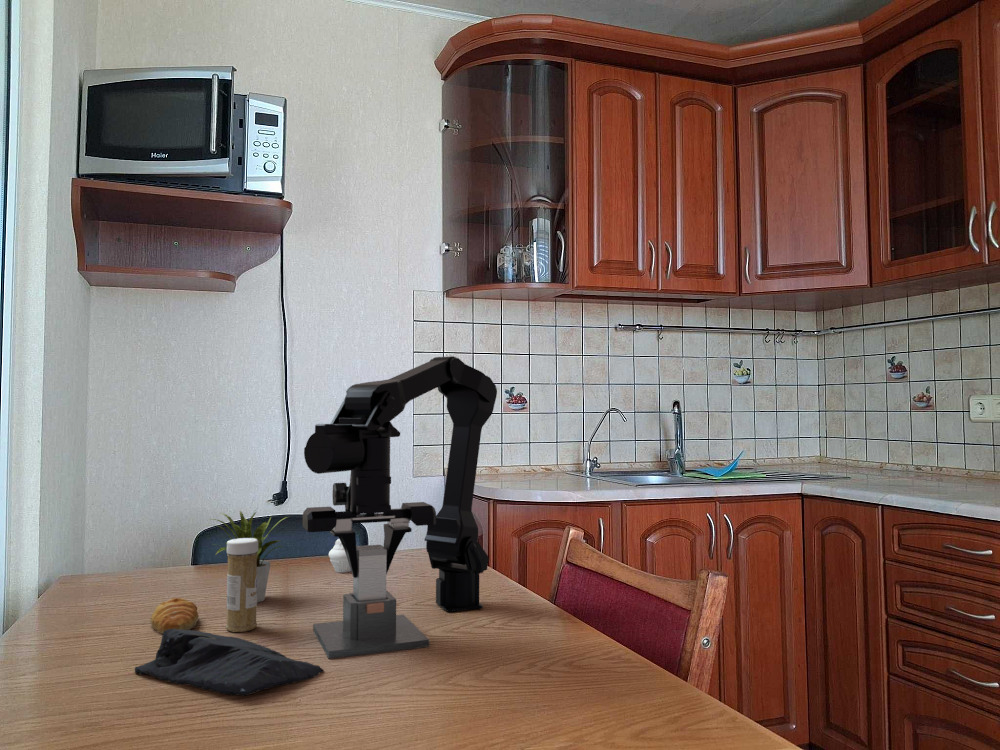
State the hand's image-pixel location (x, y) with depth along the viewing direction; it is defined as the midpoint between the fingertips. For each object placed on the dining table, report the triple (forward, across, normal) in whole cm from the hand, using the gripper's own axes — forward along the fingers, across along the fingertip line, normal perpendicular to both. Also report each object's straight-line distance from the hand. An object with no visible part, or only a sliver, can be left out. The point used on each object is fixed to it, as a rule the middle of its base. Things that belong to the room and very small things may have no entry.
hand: (369, 575), depth 111 cm
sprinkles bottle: (+9, +17, -12) cm, 23 cm away
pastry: (+10, +26, -17) cm, 33 cm away
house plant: (+9, +16, -30) cm, 35 cm away
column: (+6, 0, 0) cm, 6 cm away
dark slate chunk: (+10, +20, +7) cm, 23 cm away
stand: (+9, 0, 0) cm, 9 cm away
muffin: (+9, -5, -47) cm, 48 cm away
